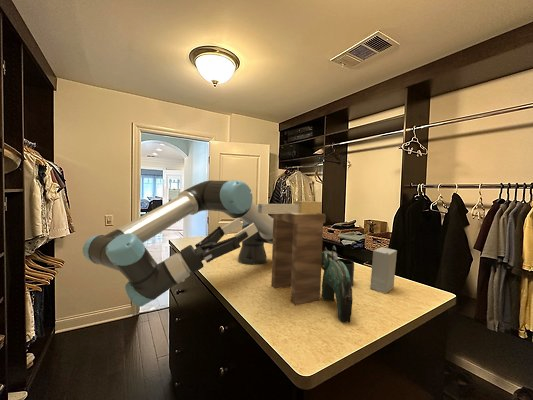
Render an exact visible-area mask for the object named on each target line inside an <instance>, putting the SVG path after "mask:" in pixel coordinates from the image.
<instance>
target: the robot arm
mask: <svg viewBox="0 0 533 400" xmlns="http://www.w3.org/2000/svg"><path fill="white" fill-rule="evenodd" d="M251 192H252V190H251V188H250V186H249V184H247V182H244V181H242V180H237V179H232V180H231V179H230V180H212V179H211V180H204V181H201V182H199V183H196V184H195V185H192V186H191V187H189V188H188V187H187V188H186V189H184V190H183V191H181V192H180V193H179V194H178V196H177V197H175V198H173V199H172V200H170V201H168V202H166V203H164V204H162V205H160V206H158V207H156V208H154V209H152V210H151V211H149V212H146V213H145V214H142V215H141V216H140V217H138V218H135V219H133V220H132V221H130V222H128V223H126V224H124V225H122V226H119V228H117V229H115V230H112V231H111V232H108V233H107V234H96V235H92V236H91V237H89V238H87V240H86V241H85V242H84V244H83V246H82V254H83V257H84V258H85V260H87V261H90V262H91V263H93V264H96V265H101V266H104V267H107V268H109V269H112V270H114V271H115V270H116V271H119V272H120V273H121V274H122V275H123V277H125V278H126V279H127V280H128V282H127V283H125V285H124V289H125V293H126V295H127V297H128V298H129V299H130V301H131V303H132V304H133V305H134V306H135V307H139V308H140V307H143V306H146V305H147V304H149V303H150V302H153V301H155V300H156V299H157V298H159V297H160V296H162V295H163V294H164V293H166V292H167V291H168V290H170V289H171V288H173V287H174V286H176V285H178V284H180V283H184V282H185V281H186V279H187V278H189V277H190V276H191V273H192V274H195V273H197V272H198V271H200V270H201V269H203V268H204V263H203V261H205V262H206V264H208V263H210V262H212V261H214V260H215V259H218V258H219V257H222V256H225V255H226V254H229V253H231V252H233V251H235V250H237V249H240V251H239V253H238V257H237V258H238V262H239V263H241V264H246V265H259V264H260V265H262V264H265V263H266V262H267V261H268V256H267V253H266V250H265V244H270V245H273V218H271V215H270V214H260V213H258V204H256V203H255V202H254V201H253V193H251ZM205 211H211V212H219V213H220V212H221V213H224V214H225V215H226V216H229V217H230V218H232V219H234V220H232V221H230V222H229V223H227V224H225V225H224V226H222V227H221V226H220V225H219V226H217V228H215V229H214V230H213V231H212V232H210V234H208V235H207V236H206V237H204V238H203V239H201V241H199V242H198V243H195V248H194V247H193V245H192V244H189V245H188V246H186V247H184V248H181V250H180V251H179V253H178V252H175V253H174V254H172V255H171V256H168V257H167V258H165V259H164V260H162V261H161V262H159V263H158V262H156V260H155V259H154V258H153V256H152V255H151V253H150V252H149V250H148V249H147V248H146V246H145V243H146V242H147V241H149V240H151V239H153V237H155V236H157V235H158V234H160V233H162V232H163V231H165V230H166V229H169V228H170V227H171V226H173V225H175V224H176V223H178V222H179V221H181V220H183V219H184V218H186V217H188V216H189V215H191V216H194V215H196V214H198V213H200V212H205ZM241 220H242V222H241ZM238 228H242V229H241V230H240V231H238V232H237V233H235V234H233V235H234V236H233V237H229V238H226V239H224V240H221V239H222V238H223V237H224V236H227V235H228V234H231V233H232V232H233V231H235V230H236V229H238ZM220 240H221V241H220Z"/></svg>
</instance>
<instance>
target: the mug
mask: <svg viewBox="0 0 533 400" xmlns="http://www.w3.org/2000/svg"><path fill="white" fill-rule="evenodd" d="M338 260H340V261H341V262H343V263H344V264H345V266H346V267H347V270H349V275H350V280H351V285H352V286H353V285H354V278H355V276H354V274H355V262H354V261H353V260H351V259H346V258H339V257H338Z"/></svg>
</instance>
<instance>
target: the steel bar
mask: <svg viewBox="0 0 533 400" xmlns="http://www.w3.org/2000/svg"><path fill="white" fill-rule="evenodd" d="M322 204H323V203H322V201H314V200H312V201H311V200H310V201H309V200H306V201H305V200H294V201H293V203H258V204H257V206H258V213H260V214H268V215H271V214H322Z"/></svg>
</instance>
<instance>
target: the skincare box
mask: <svg viewBox="0 0 533 400" xmlns="http://www.w3.org/2000/svg"><path fill="white" fill-rule="evenodd" d="M397 254H398V250H396V249H392V248H389V247H384V246H382V247H379V248H376V249H373V251H372V262H371V263H372V264H371V275H370V290H373V291H377V292H379V293H383V294H388V293H389V292H390V291H391V290H393V289H394V288H395V287H394V286H395V273H396V264H397Z"/></svg>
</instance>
